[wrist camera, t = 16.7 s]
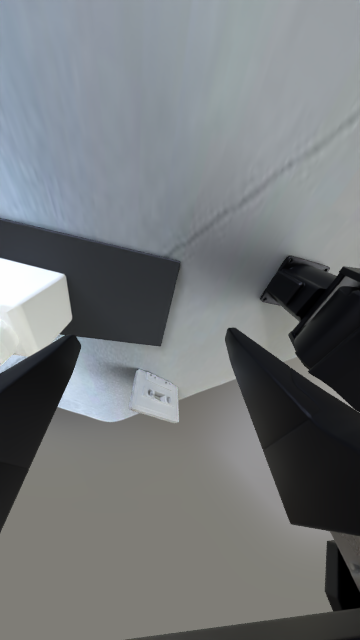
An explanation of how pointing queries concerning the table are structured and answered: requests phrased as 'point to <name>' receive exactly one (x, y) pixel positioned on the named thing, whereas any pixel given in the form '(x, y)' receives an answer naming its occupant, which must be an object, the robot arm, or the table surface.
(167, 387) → the cassette
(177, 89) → the table surface
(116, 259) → the desk mat
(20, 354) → the medicine bottle
